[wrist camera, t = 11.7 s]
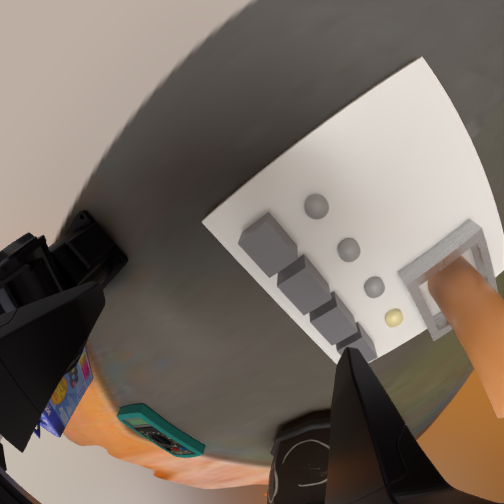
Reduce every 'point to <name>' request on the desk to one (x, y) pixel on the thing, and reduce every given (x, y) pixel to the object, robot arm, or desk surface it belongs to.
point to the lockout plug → (474, 322)
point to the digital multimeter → (159, 431)
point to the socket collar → (438, 260)
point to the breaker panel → (362, 214)
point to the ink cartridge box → (66, 398)
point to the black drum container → (301, 461)
